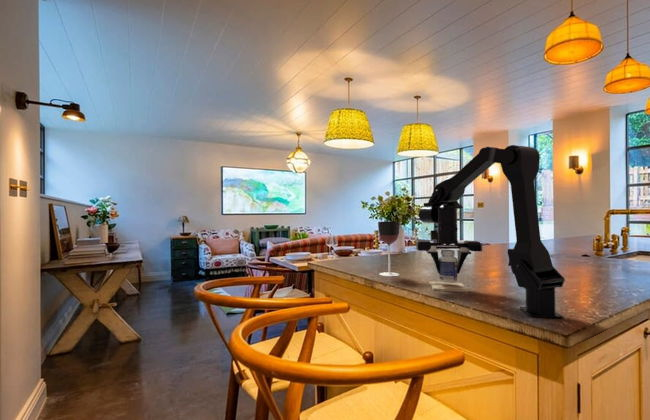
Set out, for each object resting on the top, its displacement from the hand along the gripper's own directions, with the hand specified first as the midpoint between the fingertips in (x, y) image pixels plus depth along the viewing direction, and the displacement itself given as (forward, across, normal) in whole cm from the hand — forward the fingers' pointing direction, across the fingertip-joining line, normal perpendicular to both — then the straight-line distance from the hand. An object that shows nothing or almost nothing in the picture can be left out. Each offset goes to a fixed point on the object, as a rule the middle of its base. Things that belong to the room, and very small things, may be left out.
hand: (448, 273), depth 101 cm
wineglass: (+4, +18, -19) cm, 27 cm away
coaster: (+4, 0, 0) cm, 4 cm away
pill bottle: (+3, 0, 0) cm, 3 cm away
